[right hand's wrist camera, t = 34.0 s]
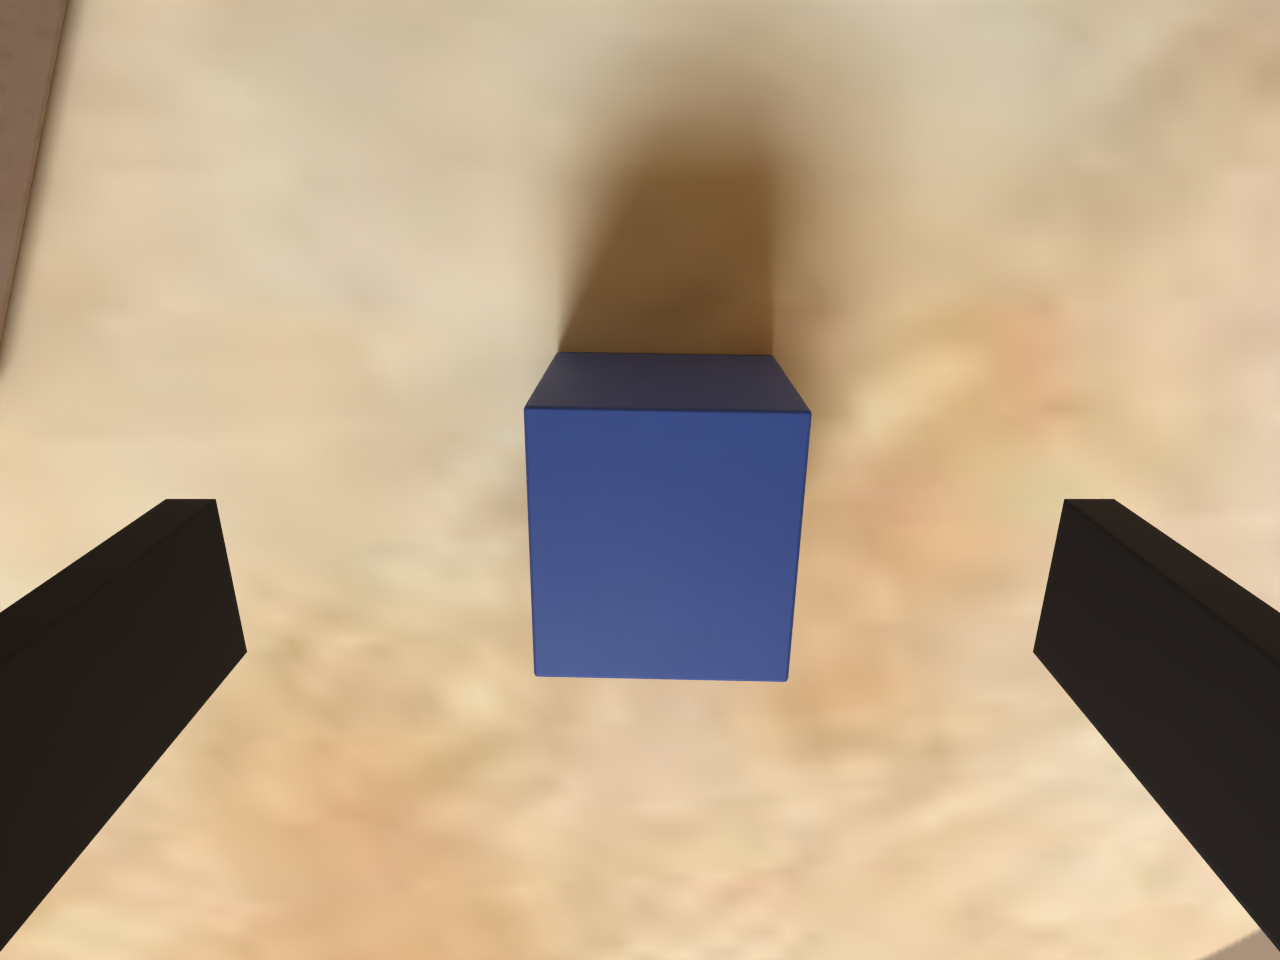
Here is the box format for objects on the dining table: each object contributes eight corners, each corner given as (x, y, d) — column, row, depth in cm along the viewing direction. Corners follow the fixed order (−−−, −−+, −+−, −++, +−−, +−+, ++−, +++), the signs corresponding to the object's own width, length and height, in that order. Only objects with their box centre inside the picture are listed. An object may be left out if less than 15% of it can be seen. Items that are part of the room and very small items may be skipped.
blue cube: (561, 566, 19) (534, 677, 15) (556, 351, 17) (523, 406, 13) (758, 570, 19) (788, 683, 15) (773, 354, 17) (812, 410, 13)
